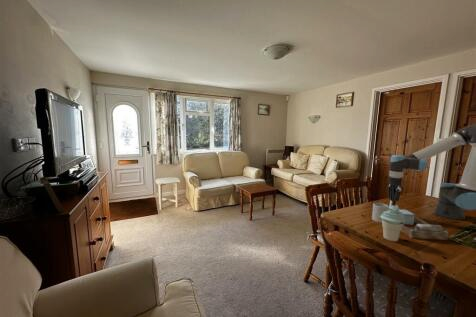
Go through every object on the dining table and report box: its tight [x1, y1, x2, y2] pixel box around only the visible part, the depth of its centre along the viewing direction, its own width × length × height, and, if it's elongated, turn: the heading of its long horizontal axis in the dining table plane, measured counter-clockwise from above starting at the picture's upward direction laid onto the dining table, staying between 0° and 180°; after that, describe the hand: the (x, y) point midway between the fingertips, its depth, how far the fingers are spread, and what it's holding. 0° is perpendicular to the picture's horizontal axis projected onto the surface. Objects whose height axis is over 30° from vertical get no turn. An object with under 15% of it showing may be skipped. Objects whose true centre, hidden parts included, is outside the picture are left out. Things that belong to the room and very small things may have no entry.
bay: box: [400, 216, 449, 241], centre depth 121 cm, size 18×23×8 cm
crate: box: [399, 208, 416, 226], centre depth 132 cm, size 8×8×7 cm
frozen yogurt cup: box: [380, 204, 406, 242], centre depth 110 cm, size 10×11×20 cm
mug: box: [371, 202, 389, 224], centre depth 135 cm, size 12×8×11 cm
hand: (392, 209), depth 143 cm, fingers closed
